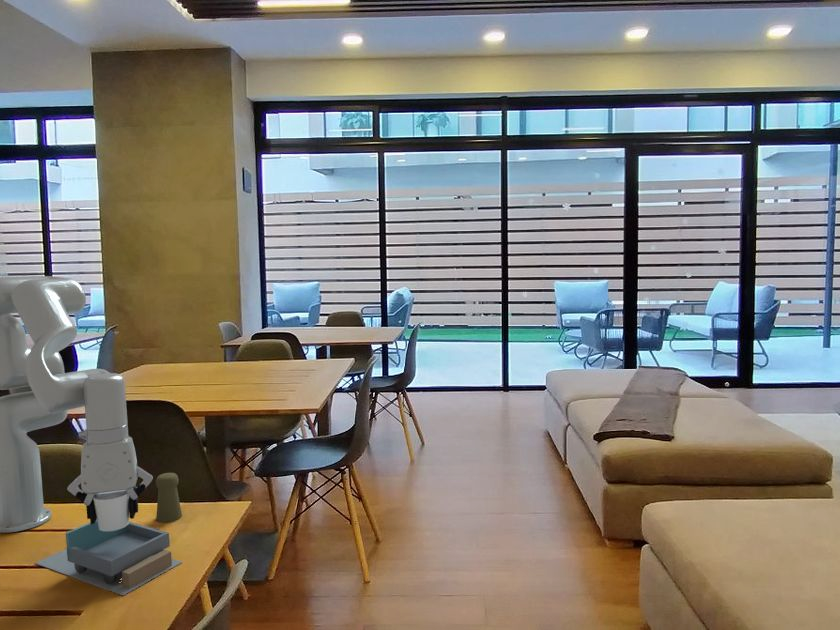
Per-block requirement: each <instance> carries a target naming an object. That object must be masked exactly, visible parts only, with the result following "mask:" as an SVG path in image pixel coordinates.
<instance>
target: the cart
mask: <svg viewBox="0 0 840 630" xmlns="http://www.w3.org/2000/svg"><path fill="white" fill-rule="evenodd" d="M65 541H66V542H65V544H66V549H67V559H68V561H69V562H72V563H75V564H74V566H75V570H76V571H77V572H78V573H82V572H85V571H86V570H87V568H89V569H92V570H95V571H98V572H101V573H103V577H104V580H105V582H106V583H108V584H110V583H112V582H114V581H116V579H117V575H116V574H117V573H119V572H121V571H123V570H125V569H127V568H129V567H131V566H133V565H135V564H137V563H139V562H140V561H142V560H144V559H146V558H148V557H150V556H152V555H155V554H157V553H159V552H161V551H163V550H167V548H170V546H171V544H170V532H168V531H164V530H161V529H157V528H153V527H150V526H146V525H144V524H140V523H135V522H132V521H129V524H128V525H127V526H126V527H124V528H122V529H119V530H115V531H101V530H99V527H98V521H97V520H96V522H95V523H94V524H91V523H90V522H87V523H85V524H83V525H80V526H78V527H76V528H74V529H71V530H68V531H66V532H65Z"/></svg>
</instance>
